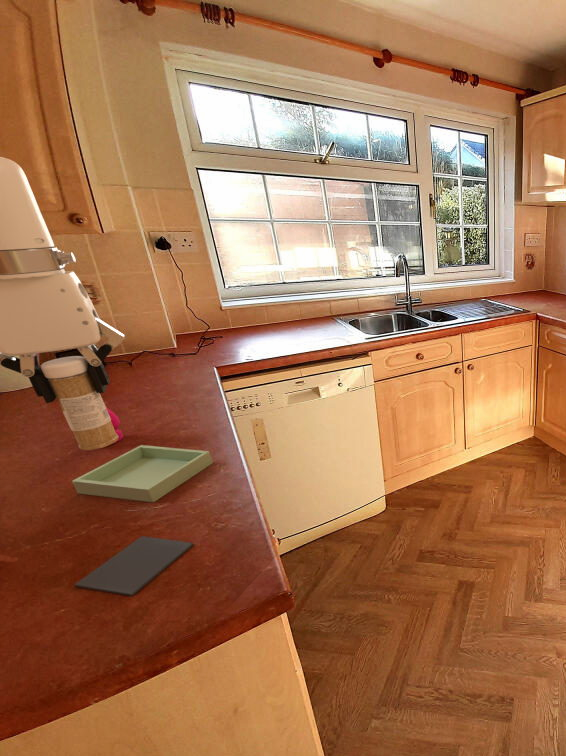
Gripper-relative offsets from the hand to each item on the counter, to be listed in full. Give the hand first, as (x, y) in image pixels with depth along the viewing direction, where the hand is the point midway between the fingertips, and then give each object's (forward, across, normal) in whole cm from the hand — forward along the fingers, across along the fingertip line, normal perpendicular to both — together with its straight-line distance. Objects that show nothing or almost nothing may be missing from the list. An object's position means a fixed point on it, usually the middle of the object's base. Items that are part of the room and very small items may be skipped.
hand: (77, 393), depth 61 cm
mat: (+26, 0, +8) cm, 27 cm away
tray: (+26, 0, -21) cm, 34 cm away
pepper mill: (+26, +10, -47) cm, 55 cm away
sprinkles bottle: (+9, 0, 0) cm, 9 cm away
